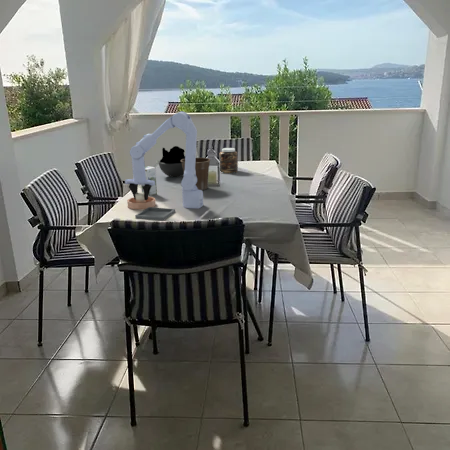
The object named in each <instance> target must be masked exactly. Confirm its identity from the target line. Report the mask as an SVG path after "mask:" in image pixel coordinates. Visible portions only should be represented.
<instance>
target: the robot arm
mask: <svg viewBox="0 0 450 450" xmlns="http://www.w3.org/2000/svg"><path fill="white" fill-rule="evenodd" d="M173 128H176V129H177V128H178V129H179V130H181V131H182V132H183V133H184V134H185V136H186V137H185V139H186V140H185V152H184V156H185V171H184V175H183V178H182V180H181V182H180V183H181V184H180V186H181V192H182V193H181V196H182V198H181V199H182V207H183V208H185V209H201V208H202V207H203V206H204V190H199V189H197V186H196V185H195V184H196V183H197V177H196V170H195V162H196V158H197V157H196V156H197V140H198V130H197V127H196V125H195V123H194V121H193V120H192V116H190V115H189V114H188V113H187V112H186V111H182V110H181V111H178V112H175V114H173V115H172V116H170V117H168V118H167V119H166V120H165V121H164V122H163V123H162V124H161V125H159V126H158V127H157V128H156V129H155V130H154V131H153V132H152V133H147V134H144V135H143V136H142V138H141V139H140V140H139V141H136V143H135V145H133V146H131V148H130V150H129V155H130V157H131V165H132V168H131V169H132V176H133V178H129V179H127V178H126V179H124V185H128V188H129V189H130V192H131V193H132V195H133V197H134V199H135V200H136V197H135V194H136V193H139V191H138V187H139V186H141V185H145V186H141V189H142V188H143V191H144V199H145V200H148V195H149V191H150V189H151V187H152V186H154V185H155V181H151V180H146V174H145V167H146V165H145V155H146V153H148V152H149V151H150V150H151V149H152V148H153V147H154V146H155V145H156V144H157V140H158V139H159V137H161V136H162V135H163V134H164V133H166V132H167V131H168V130H169V129H173ZM138 185H139V186H138Z"/></svg>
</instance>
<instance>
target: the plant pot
mask: <svg viewBox="0 0 450 450" xmlns="http://www.w3.org/2000/svg"><path fill="white" fill-rule="evenodd" d="M181 162H182V168H183V171H185V159H182V160H181ZM210 162H211V158H208V157H196V162H195V170H196V177H197V183H196V184H195V185H196V186H197V189H199V190H202V191H206V190H207V189H208V187H209V170H210Z"/></svg>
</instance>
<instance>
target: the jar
mask: <svg viewBox="0 0 450 450" xmlns="http://www.w3.org/2000/svg"><path fill="white" fill-rule="evenodd" d="M238 154H239V153H238V151H236V148H234V147H224V148H222V149H221V151H220V152H219V153H218V155H219V156H218V157H219V159H218V160H219V161H220V168H219V172H220V171H221V172H224V173H223V174H234V173H233V172H236V173H238V172H239V168H238V167H239V156H238ZM237 171H238V172H237Z"/></svg>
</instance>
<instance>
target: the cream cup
mask: <svg viewBox="0 0 450 450" xmlns="http://www.w3.org/2000/svg"><path fill="white" fill-rule="evenodd" d="M135 197H136V203H145V202H146V200H145V199H144V193H143V192H142V191H141V192H138V193H136V194H135Z"/></svg>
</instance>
